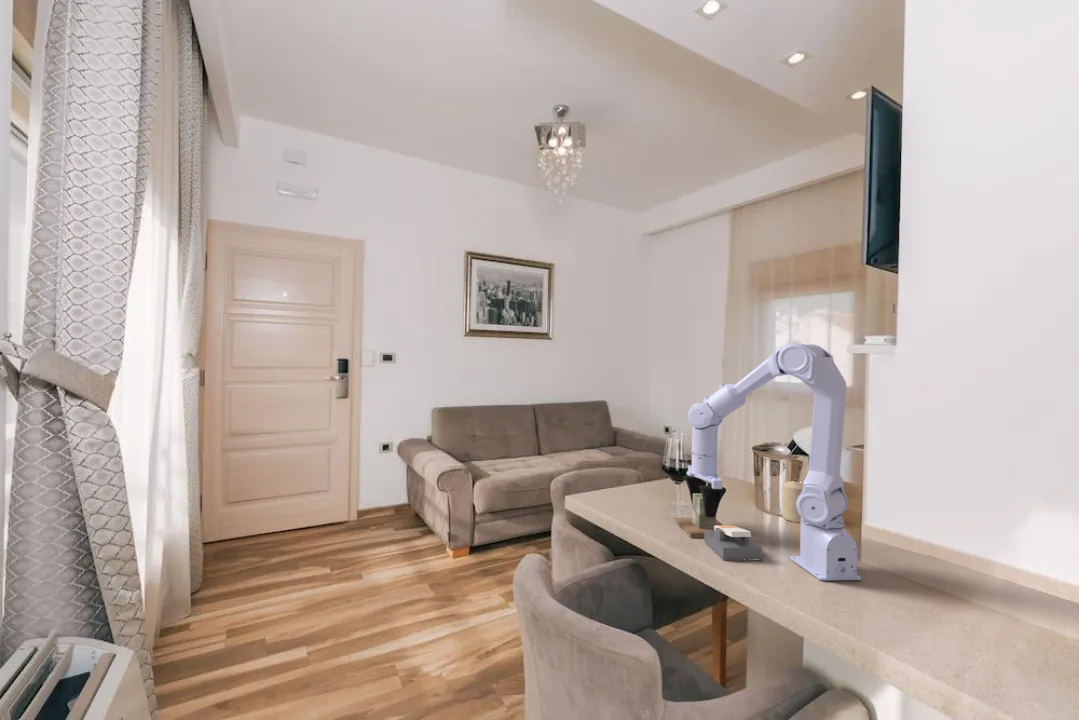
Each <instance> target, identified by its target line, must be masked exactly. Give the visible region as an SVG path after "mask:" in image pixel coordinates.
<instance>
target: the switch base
mask: <svg viewBox="0 0 1079 720" xmlns="http://www.w3.org/2000/svg"><path fill="white" fill-rule="evenodd" d="M740 528H741V529H744V530H747V529H746V528H745V527H740ZM747 531H749V530H747ZM703 542H705V543H706V544H707V545H708V546H707V545H706V544H705V543H704V544H705V545H706V546H707V547H708V548H710V549H711V551H713V553H714V554H716V555H717V556H718V557H719V558H720V559H721V560H722V561H750V560H749V559H763V558H762V557H763V556H762V555H763V551H762V550H763V547H762V546H761V545H759V544H758V543H756V542H755V541H754V540H753V539H751V538H750V537H731V536H728V535H726V534H724V531H723V530H721V529H720V528H716V531H704V538H703ZM744 559H745V560H744Z"/></svg>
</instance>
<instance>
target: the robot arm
mask: <svg viewBox="0 0 1079 720" xmlns="http://www.w3.org/2000/svg"><path fill="white" fill-rule="evenodd" d="M834 360H835V359H834V356H833V355H832V354H831V353H830V352H828V351H827V350H826V349H824V348H823V347H821V346H820V345H817V344H804V343H800V342H790V343H788V344H786V345H784V346H783V347H782V348H781V349H780V350H777V351H774V352H773V353H772V354H770V356H769V357H768V358H766V359H765V360H764V361H762V363H760V364H759V365H758V366H757V367H755V368H754V369H753V370H751V371H750V372H749V373H748V374H746V375H745V376H744V377H743V378H742V379H741V380H739V381H738V382H736V383H735V384H734V383H726V384H720V385H719V386H718V387H717V388H718V390H717V391H715V392H714V393H712V394H711V395H710V396H705V397H704V398H703V399H702V400H703V402H702V403H701V402H697V403H694V404H692V406H691V407H690V408H689V410H688V412H687V420H688V422H689V424H690V425H691V427H692V428H691V430H692V431H691V464H690V465H689V464H688V466H687V468H688V469H687V471H686V475H683V479H684V482H685V483H686V485H687V488H688V492H689V496H690V501H691V505H692V506H693V493H702V497H703V501H704V511H705V516H706V517H715V516H716V517H717V514H718V509H719V506H720V503H721V500H722V499H723V497H724V495H725V494H726V493H727V489H726V488H725V487H724V486H723V479H721V478H720V475H719V473H718V444H719V442H718V441H719V440H718V436H719V433H718V432H719V426H720V425H721V424H722V422H723V420H724V419H725V418H726V417H728V416H729V415H730V414H732V413H734V412H735V411H736V410H738V409H739V408H741V407H742V406H744V405H745V404H746V400H747V396H748V395H750V394H751V393H752V392H754V391H756V390H757V389H759V388H760V387H762V386H764V385H766V384H767V383H769V382H770V381H771V380H773V379H775V378H776V377H780V376H792V377H794V378H796V379H799V380H800V381H802V382H803V383H804V384H805V385H806V386H807V387H808V388H809V389H810V390H812V391H813V393H814V396H813V407H812V408H813V409H812V424H811V434H810V445H809V446H810V447H809V448H810V450H809V460H808V461H809V463H808V472H807V474H806V476H805V479H804V480H803V482H802V483H803V490H802V492H801V494H800V495H799V496H798V498H797V501H796V508H797V511H798V513H799V514H800V516H801V523H800V528H799V529H800V530H799V531H800V532H799V533H800V535H799V537H800V538H799V539H800V540H799V541H800V542H799V543H800V544H799V555H790V556H789V559H790V560H791V561H792V562H794V563H795V564H797V565H798V566H800V567H802V568H803V569H804V570H805V571H807V572H808V573H809V574H811V575H813V576H814V577H815V578H816V579H818V580H820V581H862V577H861V576H860V575H858V546H857V545H858V544H857V542H856V540H855V539H854V538H853V537H852V536H851V535H850V534H849V533H848V532H847V531H846V528H845V521H844V519H843V516H842V515H843V514H844V513H845V512H846V511H847V510H848V506H849V501H848V497H847V495H846V493H845V489H844V488H845V487H844V485H845V482H844V480H843V478H842V476H841V463H842V462H841V460H842V451H843V437H844V424H845V412H846V411H845V410H846V399H847V398H846V397H847V388H848V387H847V382H846V380H845V378H844V376H843V375H842V373H841V371H840V369H839V367H837V365H836V363H835V361H834Z"/></svg>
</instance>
